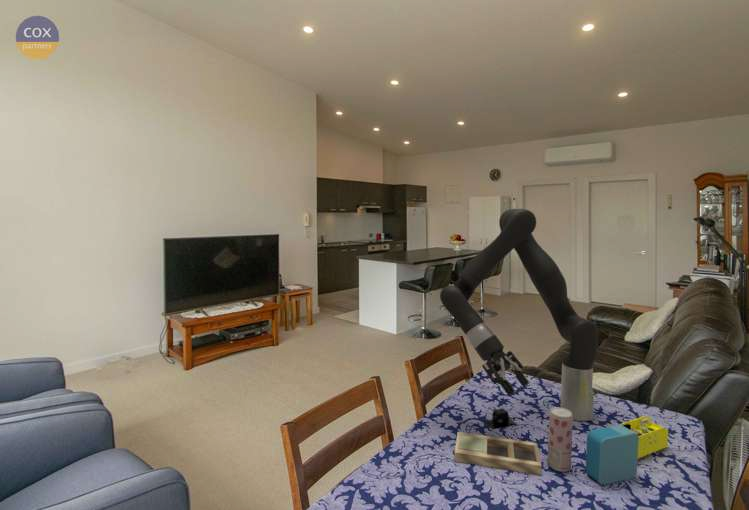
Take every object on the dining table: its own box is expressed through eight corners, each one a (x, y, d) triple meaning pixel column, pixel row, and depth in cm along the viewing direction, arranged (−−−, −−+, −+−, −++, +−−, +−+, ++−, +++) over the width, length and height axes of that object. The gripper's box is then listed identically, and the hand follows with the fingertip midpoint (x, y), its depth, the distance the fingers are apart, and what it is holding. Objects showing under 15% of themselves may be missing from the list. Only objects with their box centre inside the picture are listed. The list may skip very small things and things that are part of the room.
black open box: (510, 416, 133) (510, 403, 132) (524, 427, 126) (524, 413, 125) (477, 422, 129) (477, 408, 129) (490, 433, 122) (490, 419, 122)
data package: (621, 467, 104) (623, 423, 104) (637, 477, 100) (639, 432, 99) (584, 475, 101) (586, 430, 100) (599, 486, 97) (601, 439, 96)
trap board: (536, 451, 112) (536, 442, 111) (541, 475, 101) (541, 465, 101) (457, 439, 118) (457, 431, 118) (454, 461, 107) (454, 451, 107)
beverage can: (575, 471, 103) (578, 415, 102) (556, 474, 102) (558, 418, 100) (561, 458, 108) (563, 405, 107) (542, 461, 107) (544, 407, 106)
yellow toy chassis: (647, 440, 118) (648, 413, 117) (668, 449, 113) (670, 421, 112) (612, 453, 111) (614, 424, 110) (633, 464, 106) (634, 434, 105)
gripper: (479, 339, 112) (516, 390, 105) (504, 329, 122) (540, 376, 115) (463, 353, 116) (498, 403, 109) (488, 342, 126) (522, 388, 119)
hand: (519, 389), depth 112 cm, fingers open, 8 cm apart
